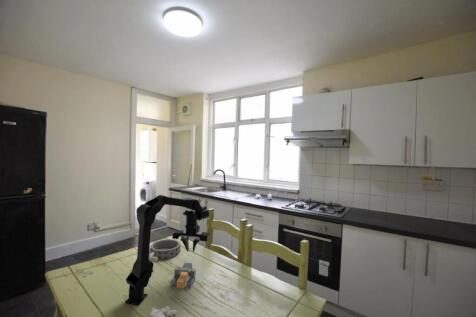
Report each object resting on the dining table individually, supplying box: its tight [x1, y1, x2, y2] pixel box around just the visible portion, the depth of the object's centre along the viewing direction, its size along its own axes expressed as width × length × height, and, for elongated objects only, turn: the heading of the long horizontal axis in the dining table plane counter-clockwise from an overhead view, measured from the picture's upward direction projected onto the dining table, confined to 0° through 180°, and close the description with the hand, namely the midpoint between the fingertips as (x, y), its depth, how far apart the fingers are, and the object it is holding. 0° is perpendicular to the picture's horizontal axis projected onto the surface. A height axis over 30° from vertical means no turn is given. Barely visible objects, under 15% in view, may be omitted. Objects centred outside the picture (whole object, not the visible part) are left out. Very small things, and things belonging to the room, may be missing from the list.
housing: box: [170, 266, 197, 288], centre depth 105 cm, size 6×10×6 cm, turn 83°
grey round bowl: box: [150, 238, 182, 260], centre depth 136 cm, size 18×18×5 cm
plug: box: [176, 262, 193, 289], centre depth 108 cm, size 16×4×4 cm, turn 0°
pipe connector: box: [149, 249, 158, 262], centre depth 118 cm, size 10×10×10 cm
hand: (190, 251), depth 114 cm, fingers open, 3 cm apart
